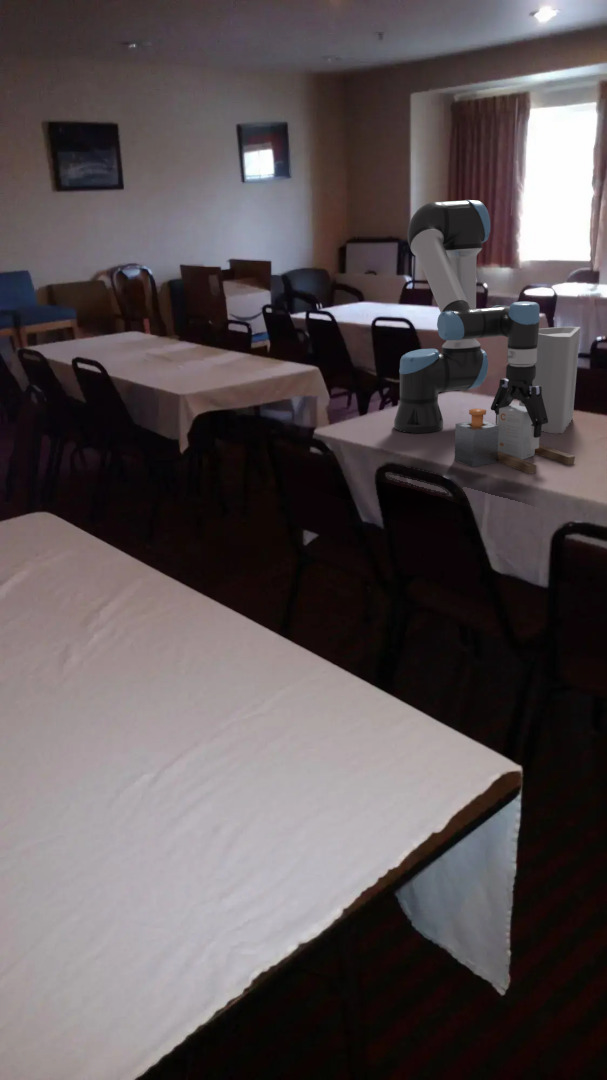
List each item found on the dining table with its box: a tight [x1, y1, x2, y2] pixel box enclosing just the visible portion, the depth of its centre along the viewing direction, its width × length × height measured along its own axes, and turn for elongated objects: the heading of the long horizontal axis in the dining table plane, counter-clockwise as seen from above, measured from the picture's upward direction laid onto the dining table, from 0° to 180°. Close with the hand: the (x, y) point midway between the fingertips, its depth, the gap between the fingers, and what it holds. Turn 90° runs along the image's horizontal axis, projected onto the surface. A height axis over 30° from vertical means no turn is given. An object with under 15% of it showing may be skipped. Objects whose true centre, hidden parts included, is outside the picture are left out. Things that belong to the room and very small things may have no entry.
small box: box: [498, 404, 537, 460], centre depth 216 cm, size 8×6×13 cm
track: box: [497, 443, 575, 474], centre depth 215 cm, size 20×15×2 cm
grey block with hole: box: [454, 420, 499, 468], centre depth 214 cm, size 8×8×10 cm
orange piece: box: [468, 408, 487, 427], centre depth 212 cm, size 4×4×7 cm
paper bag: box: [518, 326, 581, 434], centre depth 242 cm, size 19×15×28 cm
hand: (516, 442), depth 217 cm, fingers open, 13 cm apart
